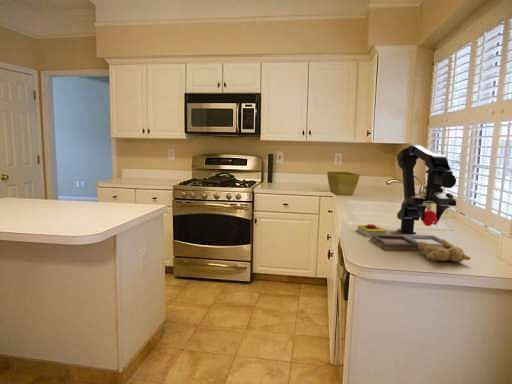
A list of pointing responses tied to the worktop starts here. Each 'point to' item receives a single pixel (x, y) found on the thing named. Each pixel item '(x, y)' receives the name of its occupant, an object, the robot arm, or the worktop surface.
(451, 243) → the tray
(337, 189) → the flower pot
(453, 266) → the worktop surface
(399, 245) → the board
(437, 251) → the ginger root
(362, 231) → the emergency button
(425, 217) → the red rounded lump
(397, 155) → the robot arm
